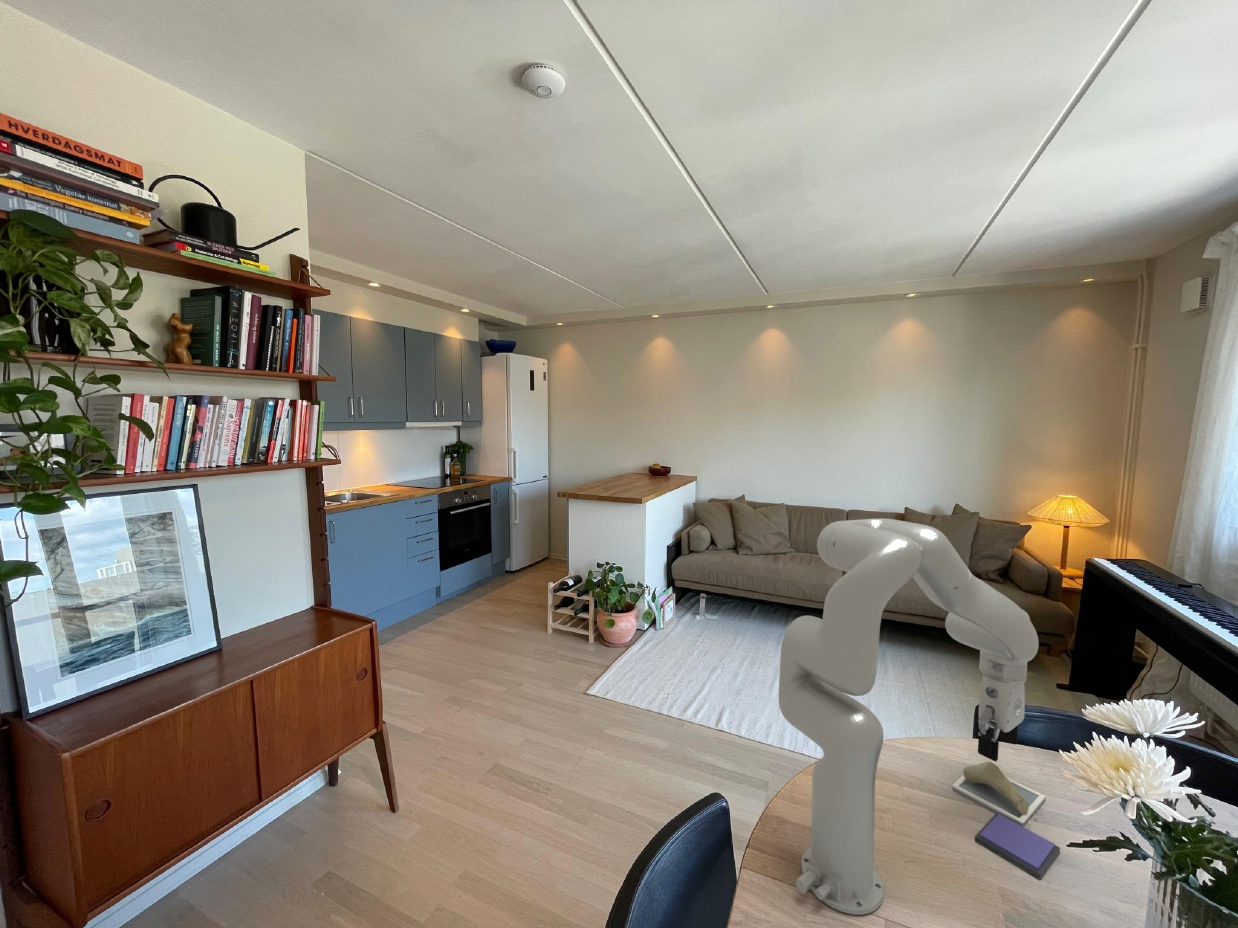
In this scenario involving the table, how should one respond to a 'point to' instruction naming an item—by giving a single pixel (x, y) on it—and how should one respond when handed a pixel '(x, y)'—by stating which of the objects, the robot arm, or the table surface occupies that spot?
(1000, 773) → the beige curved piece
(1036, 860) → the ink pad
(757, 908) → the table surface
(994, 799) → the white framed grey panel
